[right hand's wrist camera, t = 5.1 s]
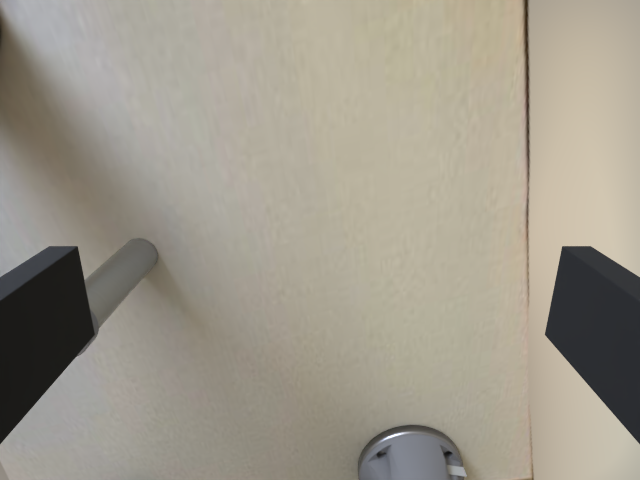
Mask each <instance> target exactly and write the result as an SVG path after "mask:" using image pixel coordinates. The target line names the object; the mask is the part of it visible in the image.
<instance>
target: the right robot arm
mask: <svg viewBox="0 0 640 480" xmlns="http://www.w3.org/2000/svg"><path fill="white" fill-rule="evenodd" d="M94 335H95V332H94V327H93V322H92V317H91V312H90V307H89V302H88V296H87V291H86V286H85V281H84V276H83V271H82V266H81V261H80V256H79V251H78V246H49V247H48V248H46V249H44V250H43V251H41V252H40V253H38V254H37V255H35V256H33V257H32V258H30V259H29V260H27V261H25V262H24V263H22V264H21V265H19V266H18V267H16V268H14V269H13V270H11V271H10V272H8V273H6V274H5V275H3V276H2V277H0V444H1V443H2V441H3V440H4V439H5V438H6V437H7V436H8V434H9V433H10V432H11V431H12V430H13V429H14V428H15V426H16V425H17V424H18V423H19V422H20V421H21V420H22V418H23V417H24V416H25V415H26V414H27V413H28V411H29V410H30V409H31V408H32V407H33V406H34V405H35V403H36V402H37V401H38V400H39V399H40V398H41V396H42V395H43V394H44V393H45V392H46V391H47V390H48V388H49V387H50V386H51V385H52V384H53V383H54V381H55V380H56V379H57V378H58V377H59V376H60V375H61V373H62V372H63V371H64V370H65V369H66V368H67V366H68V365H69V364H70V363H71V362H72V361H73V360H74V358H75V357H76V356H77V355H78V354H79V353H80V351H81V350H82V349H83V348H84V347H85V346H86V345H87V343H88V342H89V341H90V340H91V339H92V338H93V336H94ZM545 335H546V336H547V338H548V339H549V340H550V341H551V342H552V343H553V345H554V346H555V347H556V348H557V349H558V350H559V351H560V353H561V354H562V355H563V356H564V357H565V358H566V360H567V361H568V362H569V363H570V364H571V365H572V366H573V368H574V369H575V370H576V371H577V372H578V373H579V375H580V376H581V377H582V378H583V379H584V380H585V381H586V383H587V384H588V385H589V386H590V387H591V388H592V390H593V391H594V392H595V393H596V394H597V395H598V396H599V398H600V399H601V400H602V401H603V402H604V403H605V404H606V406H607V407H608V408H609V409H610V410H611V411H612V413H613V414H614V415H615V416H616V417H617V418H618V419H619V421H620V422H621V423H622V424H623V425H624V426H625V427H626V429H627V430H628V431H629V432H630V433H631V434H632V436H633V437H634V438H635V439H636V440H637V441H638V443H639V444H640V277H638V276H637V275H635V274H634V273H632V272H630V271H629V270H627V269H626V268H624V267H622V266H621V265H619V264H618V263H616V262H615V261H613V260H611V259H610V258H608V257H607V256H605V255H603V254H602V253H600V252H599V251H597V250H596V249H594V248H592V247H591V246H563V247H562V251H561V256H560V261H559V266H558V271H557V276H556V281H555V286H554V291H553V296H552V302H551V307H550V312H549V317H548V322H547V327H546V332H545ZM358 474H359V480H464V476H465V477H467V475H466V472H465V470H464V467H463V463H462V460H461V457H460V454H459V452H458V449H457V447H456V446H455V444H454V443H453V442H452V440H451V439H450V438H448V437H447V436H446V435H444V434H443V433H441V432H439V431H437V430H435V429H432V428H429V427H424V426H415V425H411V426H401V427H396V428H393V429H390V430H387V431H385V432H383V433H381V434H379V435H378V436H376V437H375V438H374V439H372V440H371V441H370V442H369V443H368V444H367V445H366V447H365V448H364V450H363V451H362V453H361V455H360V458H359V462H358Z"/></svg>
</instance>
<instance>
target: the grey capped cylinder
mask: <svg viewBox="0 0 640 480" xmlns="http://www.w3.org/2000/svg"><path fill="white" fill-rule="evenodd" d="M157 258H158V254H157V250H156V248H155V247H154V245H153V244H152V243H150V242H149V241H147V240H145V239H140V238H137V239H133V240H130V241H129V242H128V243H127V244H125V245H124V246H123V247H122V248H121V249H120V250H119V251H117V252H116V253H115V254H114V255H113V256H112V257H110V258H109V259H108V260H107V261H106V262H105V263H104V264H102V265H101V266H100V267H99V268H98V269H97V270H96V271H94V272H93V273H92V274H91V275H90V276H89V277H87V278H86V279H85V280H84V281H85V286H86V291H87V296H88V302H89V307H90V309H91V310H92V311H93V313H94V314H95V315H96V317H97V320H98V324H99V328H100V327H101V325H102V324H103V323H104V322H105V321H106V320H107V318H108V317H109V316H110V315H111V314H112V313H113V312H114V310H115V309H116V308H117V307H118V306H119V305H120V304H121V302H122V301H123V300H124V299H125V298H126V297H127V296H128V294H129V293H130V292H131V291H132V290H133V289H134V288H135V286H136V285H137V284H138V283H139V282H140V281H141V280H142V278H143V277H144V276H145V275H146V274H147V273H148V272H149V270H150V269H151V268H152V267H153V266H154V265H155V263H156V262H157Z"/></svg>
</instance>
